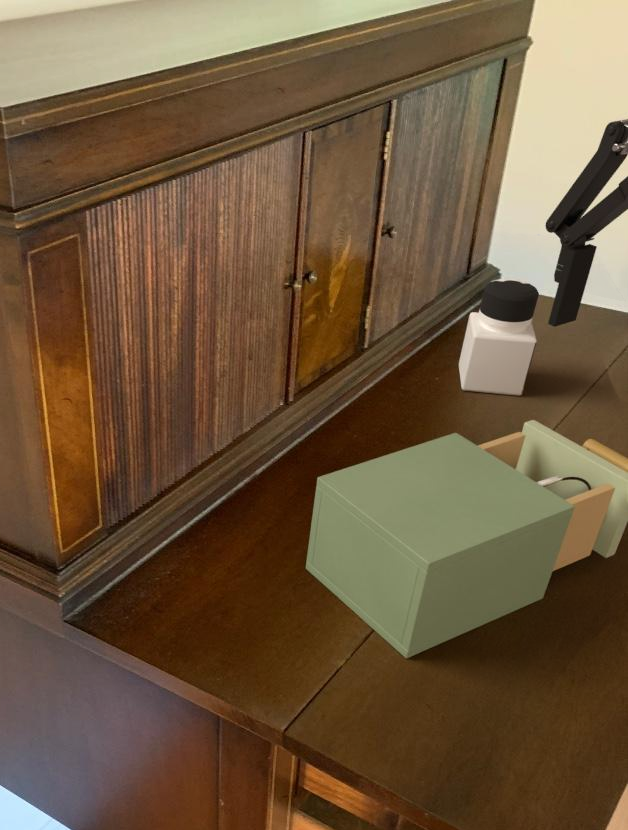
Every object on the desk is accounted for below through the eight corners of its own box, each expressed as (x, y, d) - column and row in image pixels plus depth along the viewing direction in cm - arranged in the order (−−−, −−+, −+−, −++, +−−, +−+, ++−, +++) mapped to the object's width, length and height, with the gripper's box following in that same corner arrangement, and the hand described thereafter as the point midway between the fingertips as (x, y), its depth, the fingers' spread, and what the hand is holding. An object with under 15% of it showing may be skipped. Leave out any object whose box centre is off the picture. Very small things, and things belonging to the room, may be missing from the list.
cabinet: (435, 520, 89) (456, 432, 83) (543, 598, 80) (575, 506, 74) (305, 568, 83) (317, 477, 77) (406, 659, 74) (429, 563, 68)
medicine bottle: (522, 396, 110) (549, 298, 102) (461, 391, 110) (483, 293, 103) (516, 370, 115) (541, 275, 107) (457, 365, 116) (479, 270, 108)
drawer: (556, 473, 95) (578, 404, 90) (659, 535, 86) (690, 463, 81) (402, 530, 86) (417, 457, 81) (499, 604, 78) (523, 529, 73)
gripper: (543, 40, 70) (484, 309, 84) (872, 102, 54) (732, 424, 67) (609, 31, 73) (542, 292, 87) (940, 88, 57) (793, 399, 70)
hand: (625, 351), depth 77 cm, fingers open, 13 cm apart
